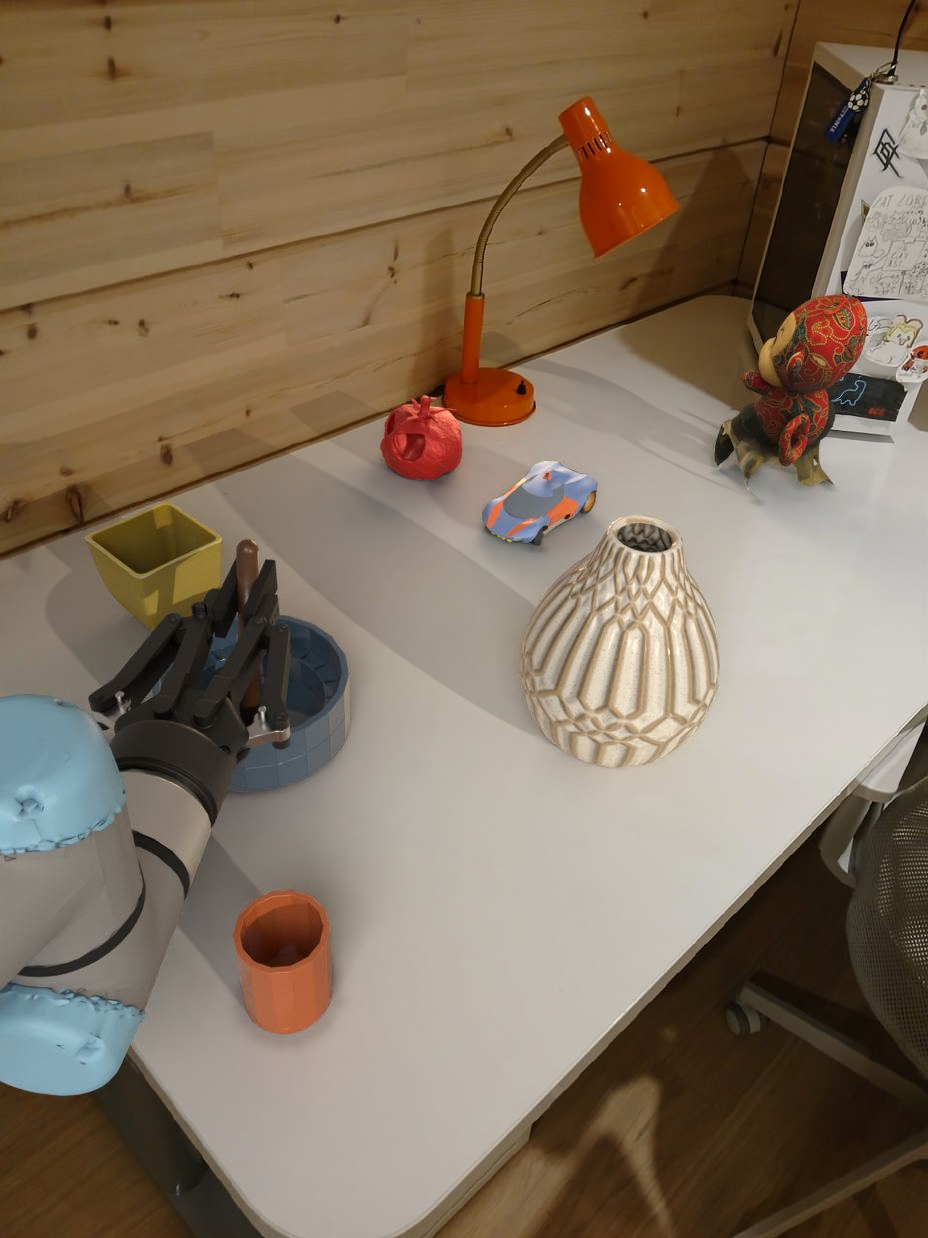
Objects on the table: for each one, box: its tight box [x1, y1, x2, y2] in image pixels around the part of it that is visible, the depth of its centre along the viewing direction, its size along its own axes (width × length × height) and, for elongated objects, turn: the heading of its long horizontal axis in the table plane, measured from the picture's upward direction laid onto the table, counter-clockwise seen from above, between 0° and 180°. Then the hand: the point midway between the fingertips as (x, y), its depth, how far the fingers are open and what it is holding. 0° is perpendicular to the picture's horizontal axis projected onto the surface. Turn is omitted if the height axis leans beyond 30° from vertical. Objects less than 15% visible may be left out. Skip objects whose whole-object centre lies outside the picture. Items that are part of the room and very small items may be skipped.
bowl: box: [151, 614, 351, 793], centre depth 78 cm, size 15×15×6 cm
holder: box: [232, 889, 334, 1035], centre depth 60 cm, size 6×6×7 cm
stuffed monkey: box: [712, 293, 868, 498], centre depth 108 cm, size 15×17×25 cm
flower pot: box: [84, 500, 223, 633], centre depth 88 cm, size 9×9×9 cm
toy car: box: [481, 460, 599, 546], centre depth 106 cm, size 8×15×5 cm, turn 142°
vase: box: [518, 514, 721, 769], centre depth 76 cm, size 16×16×20 cm
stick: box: [235, 538, 260, 727], centre depth 74 cm, size 2×2×16 cm
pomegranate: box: [379, 394, 463, 481], centre depth 112 cm, size 10×10×9 cm
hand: (257, 572), depth 74 cm, fingers closed on stick, 1 cm apart
